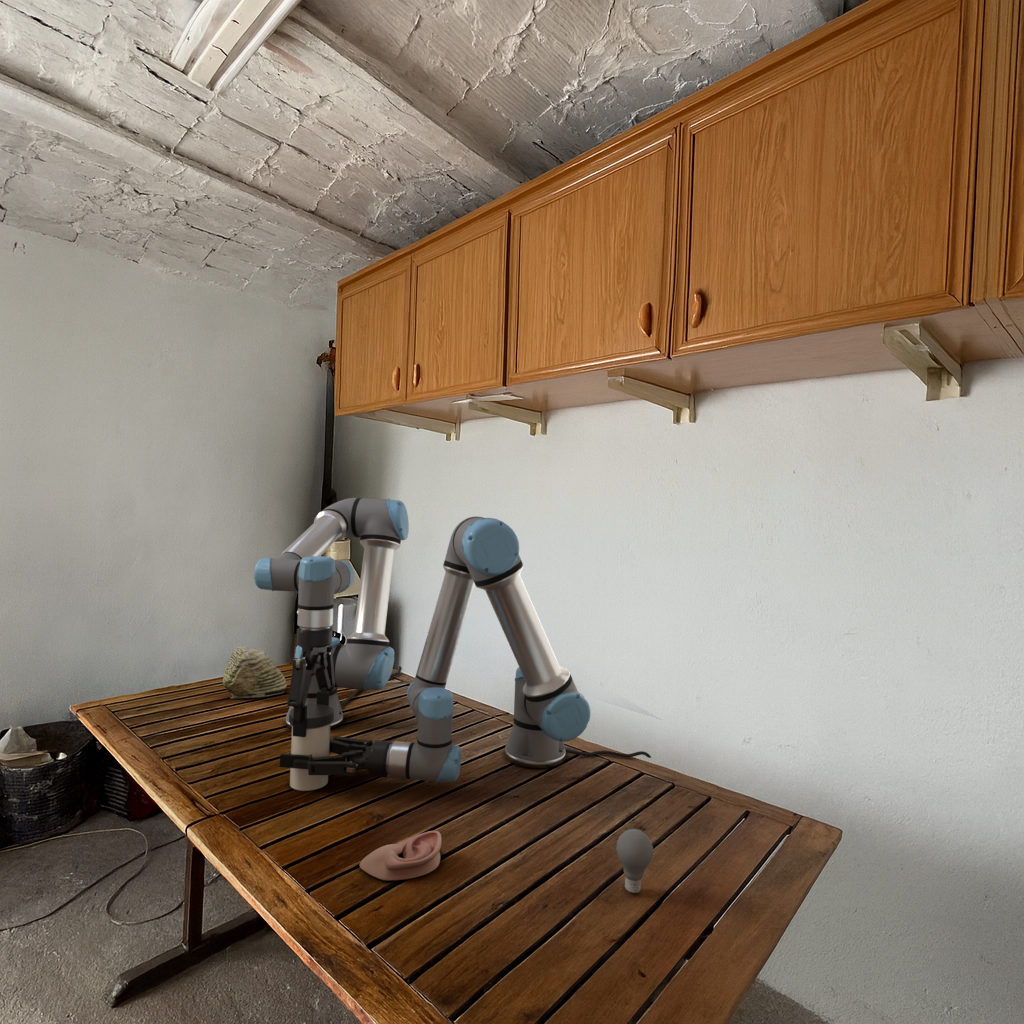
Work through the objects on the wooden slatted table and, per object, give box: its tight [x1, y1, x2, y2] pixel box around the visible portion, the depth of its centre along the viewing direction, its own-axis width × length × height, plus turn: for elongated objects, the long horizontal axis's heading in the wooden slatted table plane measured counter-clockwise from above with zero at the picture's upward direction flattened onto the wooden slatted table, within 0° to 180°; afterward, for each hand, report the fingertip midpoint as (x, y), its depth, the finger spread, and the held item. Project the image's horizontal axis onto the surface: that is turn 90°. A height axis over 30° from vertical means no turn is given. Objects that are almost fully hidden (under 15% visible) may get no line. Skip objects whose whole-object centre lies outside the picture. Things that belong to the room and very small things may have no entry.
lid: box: [289, 704, 334, 728], centre depth 140 cm, size 9×9×2 cm
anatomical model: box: [359, 830, 443, 882], centre depth 111 cm, size 13×4×12 cm
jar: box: [289, 724, 331, 792], centre depth 140 cm, size 8×8×15 cm
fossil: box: [222, 646, 288, 699], centre depth 198 cm, size 9×18×15 cm, turn 132°
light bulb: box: [615, 828, 654, 894], centre depth 106 cm, size 6×6×10 cm
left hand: (311, 728), depth 140 cm, fingers closed on lid, 9 cm apart
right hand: (289, 752), depth 140 cm, fingers closed on jar, 8 cm apart
